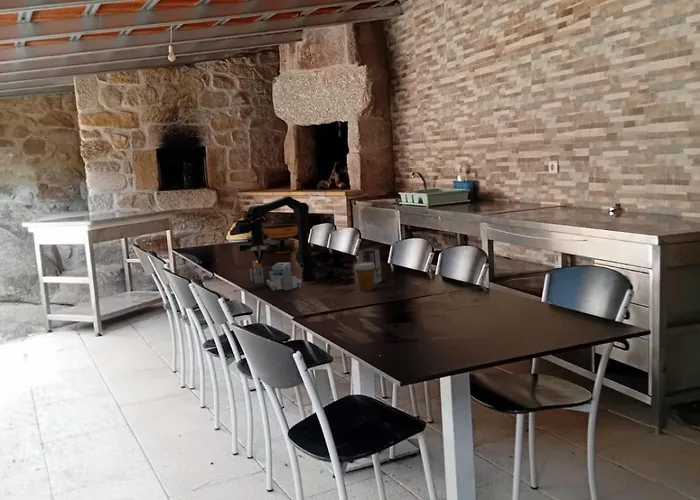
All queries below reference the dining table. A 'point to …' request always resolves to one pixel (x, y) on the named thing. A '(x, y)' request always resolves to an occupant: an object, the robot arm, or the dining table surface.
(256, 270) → the lever
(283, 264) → the light bulb box
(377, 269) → the coffee box
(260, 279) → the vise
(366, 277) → the disposable coffee cup
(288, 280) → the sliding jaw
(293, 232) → the cup
